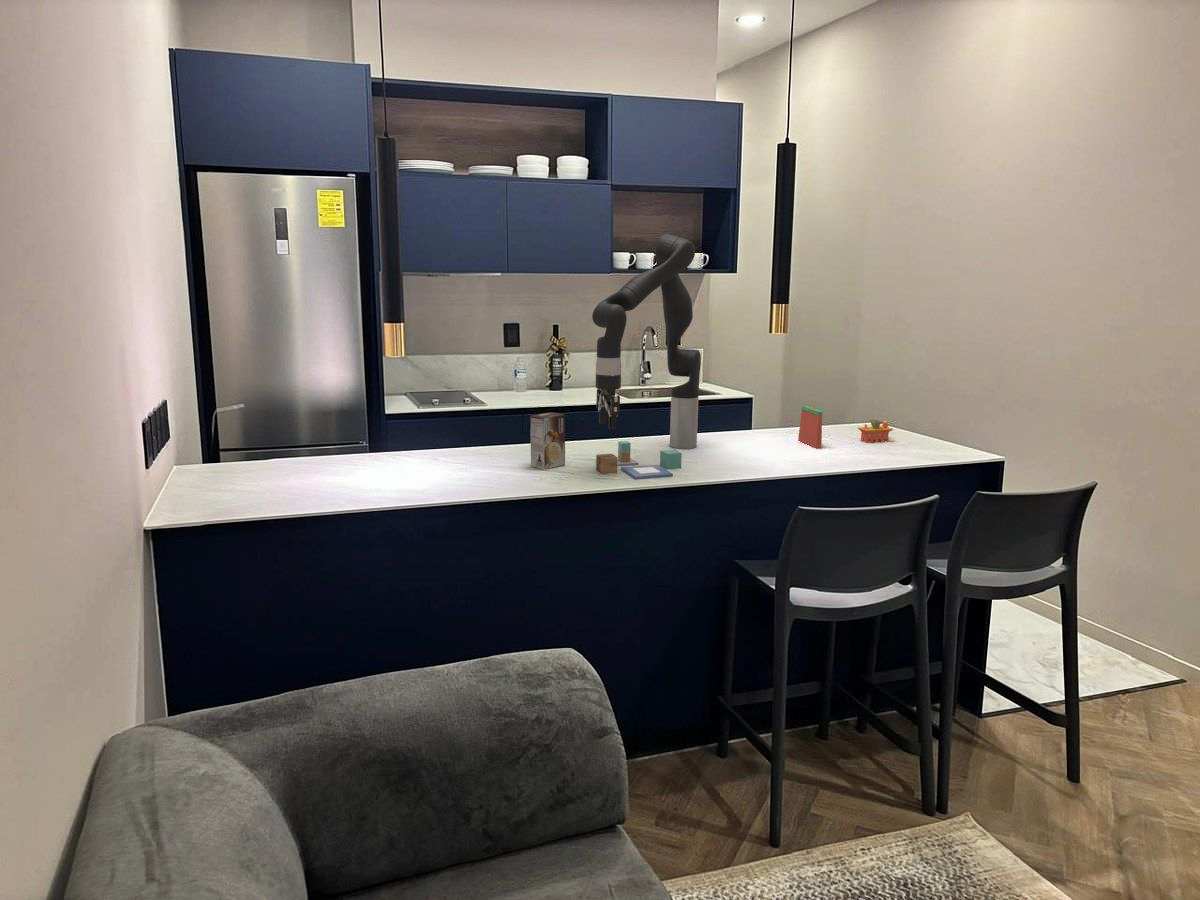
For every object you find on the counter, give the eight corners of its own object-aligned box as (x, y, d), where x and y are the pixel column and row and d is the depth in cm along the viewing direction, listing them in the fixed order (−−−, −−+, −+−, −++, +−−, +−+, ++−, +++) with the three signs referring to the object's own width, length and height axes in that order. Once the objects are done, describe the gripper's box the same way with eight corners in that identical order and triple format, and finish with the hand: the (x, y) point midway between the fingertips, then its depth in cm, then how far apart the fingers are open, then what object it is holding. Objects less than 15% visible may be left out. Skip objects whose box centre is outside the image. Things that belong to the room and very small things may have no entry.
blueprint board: (620, 469, 266) (621, 466, 265) (657, 467, 269) (657, 464, 269) (635, 479, 254) (635, 476, 254) (672, 476, 258) (673, 473, 258)
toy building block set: (798, 441, 309) (800, 402, 306) (883, 437, 319) (886, 399, 316) (816, 449, 297) (819, 408, 294) (904, 444, 307) (907, 404, 304)
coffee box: (551, 461, 275) (551, 411, 271) (565, 465, 270) (565, 414, 267) (529, 466, 268) (529, 415, 264) (544, 470, 264) (544, 418, 260)
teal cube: (659, 466, 271) (660, 450, 270) (674, 464, 273) (675, 449, 272) (666, 469, 267) (666, 453, 266) (681, 468, 268) (681, 452, 267)
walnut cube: (596, 470, 265) (596, 454, 263) (611, 469, 266) (611, 453, 265) (601, 474, 260) (601, 458, 259) (617, 473, 262) (617, 457, 260)
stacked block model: (609, 461, 276) (610, 440, 275) (630, 459, 278) (630, 439, 277) (617, 466, 270) (617, 445, 268) (638, 464, 272) (638, 444, 271)
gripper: (588, 369, 262) (588, 422, 265) (604, 376, 248) (603, 431, 252) (612, 369, 264) (611, 421, 268) (629, 375, 251) (627, 430, 254)
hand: (607, 426), depth 260 cm, fingers open, 8 cm apart
